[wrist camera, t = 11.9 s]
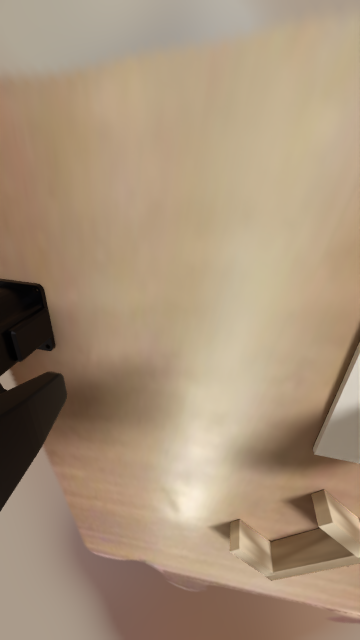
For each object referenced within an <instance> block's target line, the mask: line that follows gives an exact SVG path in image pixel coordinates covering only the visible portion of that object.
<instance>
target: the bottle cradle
mask: <svg viewBox="0 0 360 640" xmlns="http://www.w3.org/2000/svg"><path fill="white" fill-rule="evenodd" d="M311 495H312V500H313V504H314V509H315V513H316V518H317V523H318V527H320V528H319V529H316V530H312V531H308V532H305V533H301V534H298V535H294V536H290V537H287V538H283V539H280V540H276V541H272V542H270V541H268V540H267V539H266V538H264V537H263V536H262V535H260V534H259V533H258V532H256V531H255V530H253V529H252V528H251V527H249V526H248V525H247V524H245V523H244V522H243V521H241V520H240V519H239V520H236V521H233V522H231V523H230V552H231V553H232V554H234V555H235V556H237V557H238V558H240V559H241V560H242V561H244V562H245V563H247V564H248V565H250V566H251V567H252V568H254V569H255V570H257V571H258V572H260V573H261V574H262V575H264V576H265V577H267V578H268V579H270V580H271V581H273V580H278V579H283V578H288V577H293V576H298V575H304V574H309V573H314V572H319V571H324V570H330V569H335V568H340V567H345V566H350V565H356V564H360V519H359V518H358V517H356V516H355V515H354V514H353V513H352V512H350V511H349V510H348V509H347V508H346V507H344V506H343V505H342V504H341V503H340V502H338V501H337V500H336V499H335V498H334V497H332V496H331V495H330V494H329V493H328V492H326V491H325V490H322V491H319V492H316V493H313V494H311Z"/></svg>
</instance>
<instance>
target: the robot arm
mask: <svg viewBox="0 0 360 640" xmlns="http://www.w3.org/2000/svg"><path fill="white" fill-rule="evenodd" d="M36 289H37V290H38V291H37V290H36ZM49 345H50V346H49ZM54 348H55V341H54V336H53V331H52V326H51V321H50V316H49V312H48V307H47V302H46V297H45V292H44V289H43V287H42V286H41V285H40V284H37V283H29V282H21V281H14V280H6V279H0V376H1V375H2V374H4V373H5V372H6V371H7V370H8V369H10V368H11V367H12V366H13V365H14V364H16V363H17V362H22V361H23V360H24V359H25V358H26V357H28V356H29V355H30V354H31V353H32V352H34V351H35V350H36V349H41V350H46V351H51V350H53V349H54ZM66 398H67V391H66V386H65V381H64V376H63V375H62V374H61V373H56V372H46V373H44V374H42V375H40V376H38V377H36V378H33V379H31V380H29V381H27V382H25V383H23V384H21V385H18V386H16V387H14V388H12V389H10V390H8V391H7V390H6V389H4V388H3V387H2V385H1V384H0V511H1V510H2V508H3V507H4V505H5V503H6V502H7V500H8V499H9V497H10V496H11V494H12V493H13V491H14V489H15V488H16V486H17V485H18V483H19V482H20V480H21V479H22V477H23V475H24V474H25V472H26V471H27V469H28V468H29V466H30V465H31V463H32V462H33V460H34V458H35V457H36V455H37V454H38V452H39V450H40V449H41V447H42V445H43V444H44V442H45V440H46V438H47V436H48V434H49V432H50V430H51V428H52V426H53V424H54V423H55V421H56V419H57V417H58V415H59V413H60V411H61V409H62V407H63V405H64V403H65V401H66Z"/></svg>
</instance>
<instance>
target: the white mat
mask: <svg viewBox="0 0 360 640" xmlns="http://www.w3.org/2000/svg"><path fill="white" fill-rule="evenodd" d="M313 452H314V455H319V456H324V457H329V458H334V459H339V460H344V461H349V462H354V463H359V464H360V342H359V344H358V347H357V349H356V351H355V353H354V356H353V358H352V360H351V363H350V365H349V367H348V369H347V372H346V374H345V376H344V379H343V381H342V383H341V385H340V388H339V390H338V392H337V394H336V397H335V399H334V401H333V404H332V406H331V408H330V410H329V413H328V415H327V417H326V420H325V422H324V424H323V426H322V429H321V431H320V433H319V435H318V438H317V440H316V442H315V445H314V447H313Z"/></svg>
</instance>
